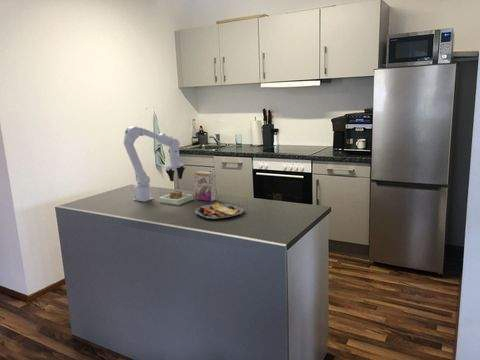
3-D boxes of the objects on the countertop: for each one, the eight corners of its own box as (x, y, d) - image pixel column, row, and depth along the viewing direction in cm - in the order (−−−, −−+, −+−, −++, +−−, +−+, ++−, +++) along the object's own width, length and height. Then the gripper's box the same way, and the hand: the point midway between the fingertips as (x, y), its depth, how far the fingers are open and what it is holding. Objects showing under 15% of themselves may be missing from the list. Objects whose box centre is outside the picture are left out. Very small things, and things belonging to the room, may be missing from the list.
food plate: (186, 213, 208) (186, 206, 207) (222, 204, 222) (222, 198, 222) (215, 225, 189) (215, 218, 188) (251, 215, 204) (251, 208, 203)
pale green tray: (159, 202, 231) (158, 197, 230) (175, 197, 242) (175, 192, 241) (177, 205, 223) (177, 200, 222) (193, 199, 235) (193, 194, 234)
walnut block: (170, 200, 232) (169, 192, 230) (175, 198, 236) (175, 190, 235) (176, 201, 229) (176, 193, 228) (182, 199, 233) (181, 191, 232)
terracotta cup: (193, 196, 242) (192, 185, 241) (199, 194, 247) (198, 183, 246) (201, 197, 239) (200, 186, 238) (207, 195, 244) (206, 184, 242)
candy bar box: (195, 199, 234) (194, 172, 231) (200, 197, 238) (199, 170, 235) (211, 201, 228) (209, 173, 225) (216, 199, 233) (214, 172, 229)
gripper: (171, 160, 235) (173, 182, 238) (187, 156, 247) (188, 178, 250) (162, 159, 239) (164, 181, 241) (178, 156, 251) (180, 177, 253)
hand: (176, 179), depth 246 cm, fingers open, 7 cm apart
